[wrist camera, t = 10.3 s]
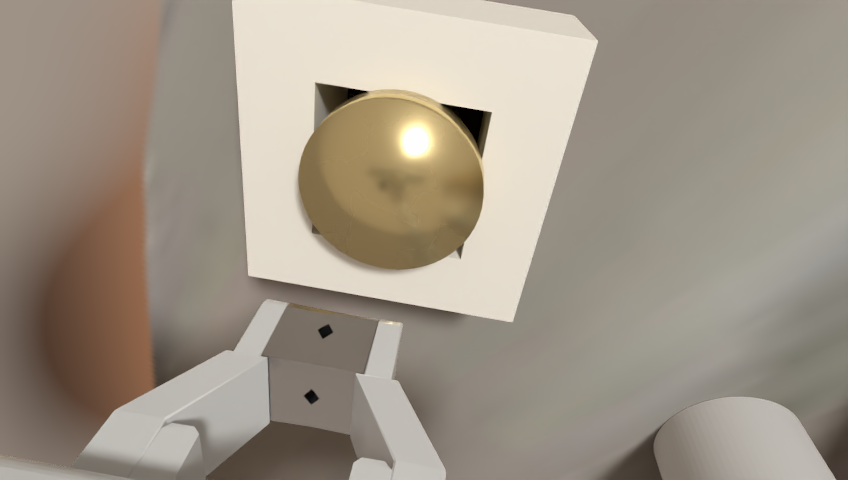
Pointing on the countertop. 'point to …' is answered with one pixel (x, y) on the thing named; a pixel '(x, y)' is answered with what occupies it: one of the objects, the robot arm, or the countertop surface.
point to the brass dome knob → (393, 179)
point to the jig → (424, 74)
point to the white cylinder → (737, 443)
